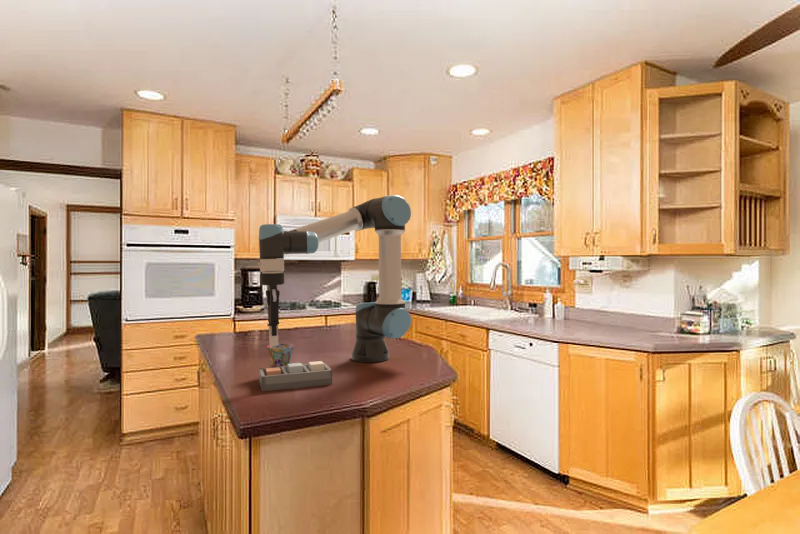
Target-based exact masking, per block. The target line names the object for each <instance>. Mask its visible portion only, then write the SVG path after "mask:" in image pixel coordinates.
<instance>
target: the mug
mask: <svg viewBox="0 0 800 534" xmlns="http://www.w3.org/2000/svg"><path fill="white" fill-rule="evenodd" d="M294 347H295V345H294V343H293V344H292V343H283V342H281V343H279V345H278V346H270V345H267V346H266V350H267V352H268V354H269V358H270V359H269V360H270V361H269V362H270V366H269V367H281V366H288V365H287V364H292V363H291V358H292V353H293V350H294Z"/></svg>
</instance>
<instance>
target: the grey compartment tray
mask: <svg viewBox="0 0 800 534" xmlns="http://www.w3.org/2000/svg"><path fill="white" fill-rule="evenodd" d="M323 363H324V370H322V371H310V370H309V363H305V364H303V363H302V365H303V372H300V373H290V374H289V373H288V366H281V367H280V369H281V374H279V375H268V376H266V369H267V368H278V367H270V366H269V367H260V368H258V383H259V385H260V389H261V391H262V392H270V391H278V390H288V389H289V390H291V389H299V388H306V387H307V388H308V387H317V386H326V385H333V370H332V368H331V367H330V366H329V365H328V364H327V363H325V362H323Z"/></svg>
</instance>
